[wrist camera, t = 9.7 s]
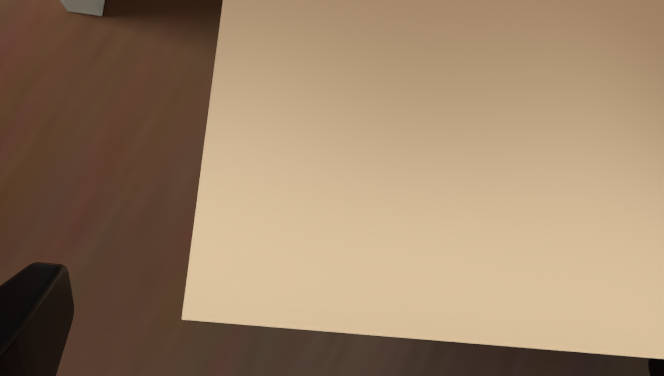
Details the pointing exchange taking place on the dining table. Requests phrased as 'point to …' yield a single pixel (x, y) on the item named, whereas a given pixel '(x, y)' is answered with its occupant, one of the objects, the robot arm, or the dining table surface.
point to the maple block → (437, 172)
